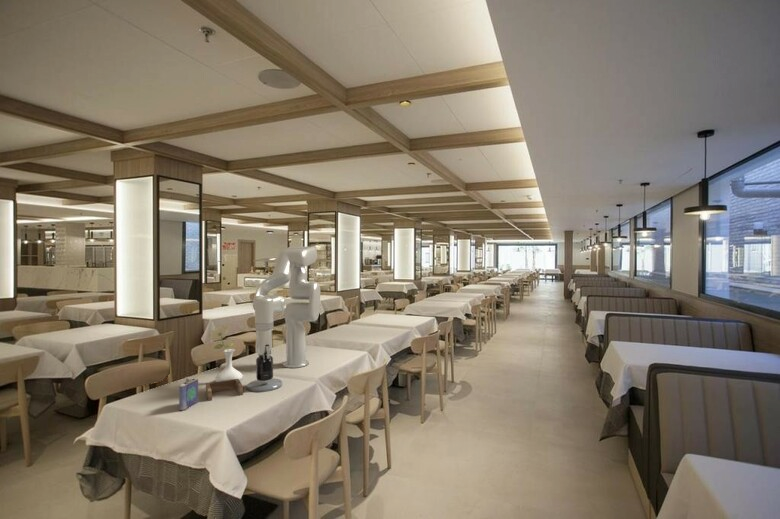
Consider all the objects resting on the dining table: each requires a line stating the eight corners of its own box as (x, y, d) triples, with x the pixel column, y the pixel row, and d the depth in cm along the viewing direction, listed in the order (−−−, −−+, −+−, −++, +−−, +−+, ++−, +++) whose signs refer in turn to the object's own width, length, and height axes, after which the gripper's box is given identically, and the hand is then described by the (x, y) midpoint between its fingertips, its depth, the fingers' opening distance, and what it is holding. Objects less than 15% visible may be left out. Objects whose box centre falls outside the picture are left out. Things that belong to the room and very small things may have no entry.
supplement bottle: (255, 377, 166) (255, 349, 166) (272, 375, 168) (272, 347, 168) (256, 382, 159) (256, 352, 159) (274, 379, 162) (273, 351, 162)
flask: (184, 411, 138) (183, 381, 138) (176, 411, 138) (176, 381, 138) (199, 401, 147) (199, 373, 147) (192, 401, 147) (192, 373, 147)
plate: (244, 384, 166) (244, 381, 166) (277, 379, 173) (277, 376, 173) (250, 394, 154) (250, 391, 154) (285, 388, 161) (285, 385, 161)
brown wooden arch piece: (205, 392, 157) (205, 383, 157) (238, 386, 163) (238, 378, 163) (208, 400, 147) (208, 391, 147) (242, 394, 154) (242, 386, 154)
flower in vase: (239, 376, 179) (239, 321, 178) (245, 382, 169) (245, 325, 169) (208, 381, 171) (208, 324, 171) (213, 388, 162) (212, 328, 162)
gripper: (251, 324, 169) (251, 365, 169) (259, 330, 154) (259, 375, 154) (268, 323, 173) (269, 363, 173) (278, 329, 158) (278, 372, 158)
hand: (264, 368), depth 164 cm, fingers closed on supplement bottle, 6 cm apart
